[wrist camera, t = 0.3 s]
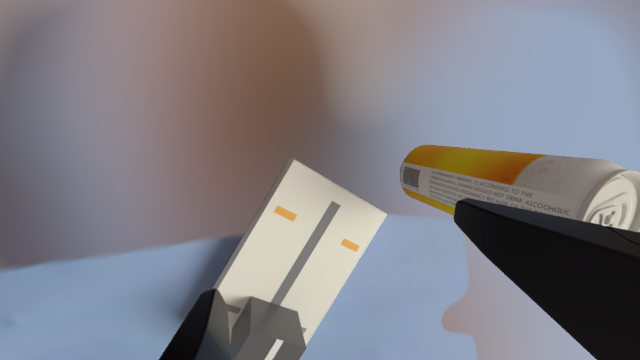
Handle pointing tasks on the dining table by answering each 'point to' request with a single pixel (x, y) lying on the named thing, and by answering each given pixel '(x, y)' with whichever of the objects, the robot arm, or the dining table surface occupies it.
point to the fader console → (299, 247)
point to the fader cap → (267, 333)
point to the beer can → (525, 183)
